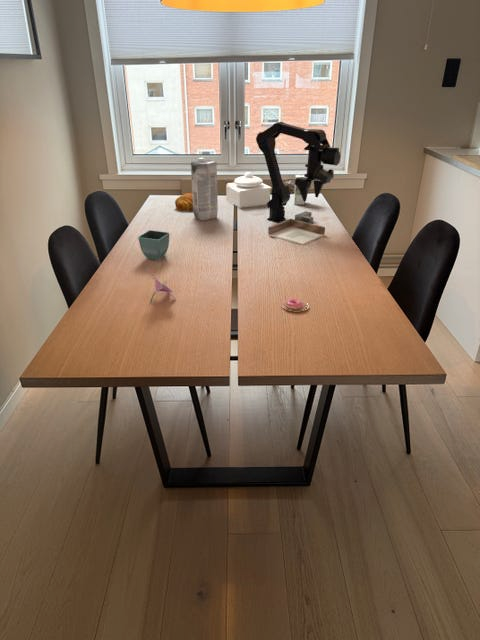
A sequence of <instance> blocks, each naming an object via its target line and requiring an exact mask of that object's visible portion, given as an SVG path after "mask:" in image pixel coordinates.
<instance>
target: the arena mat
mask: <svg viewBox="0 0 480 640" xmlns="http://www.w3.org/2000/svg"><path fill="white" fill-rule="evenodd" d="M267 235H268V236H269V237H272V238H275V239H276V238H277V239H279V240H282V241H288V242H290V243H294V244H297V245H300V246H304V245H306V244H308V243H310V242H313V241H316V240H318V239H319V238H322V237H324V236H325V234H323V235H322V234H318V233H315V232H311V231H307V230H303V229H299V228H295V227H288V228H286V229H283V230H281V231H278V232H276V233H273V234H271V235H270V234H267Z"/></svg>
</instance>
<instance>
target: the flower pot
mask: <svg viewBox="0 0 480 640" xmlns="http://www.w3.org/2000/svg"><path fill="white" fill-rule="evenodd" d="M137 239H138V243H139V248H140V250H141V252H142V254H143V255H144V256H145V258H146V259H150V260H156V261H160V260H161V259H162V258H163V257H164V256H165V255H166V254H167V251H168V249H169V246H170V232H167V231H159V230H151V229H149V230H147V231H146V232H144V233H143V234H140V235H138V237H137Z"/></svg>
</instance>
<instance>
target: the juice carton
mask: <svg viewBox="0 0 480 640" xmlns="http://www.w3.org/2000/svg"><path fill="white" fill-rule="evenodd" d="M217 165H218V164H217V162H216V161H212V160H210V159H205V157H198V158H197V161H194V160H193V161H191V162H190V170H191V171H190V173H191V193H192V196H193V211H192V212H193V217H194V218H196V219H198V220H200V221H207V220H213V219H216V218H218V211H219V209H218V207H219V206H218V205H219V204H218V173H217V172H218V169H217V168H218V167H217Z"/></svg>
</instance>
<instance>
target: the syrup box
mask: <svg viewBox="0 0 480 640" xmlns="http://www.w3.org/2000/svg"><path fill="white" fill-rule="evenodd" d="M299 177H304V174H295V179H296V178H299ZM305 178H307V177H305ZM293 199H294V200H293V202H294V203H293V205H295V206H305V205H306V201H303V198H302V196H301V193H300V191H299V189H298V187H297V186H296V185H295V184H294V197H293Z"/></svg>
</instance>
